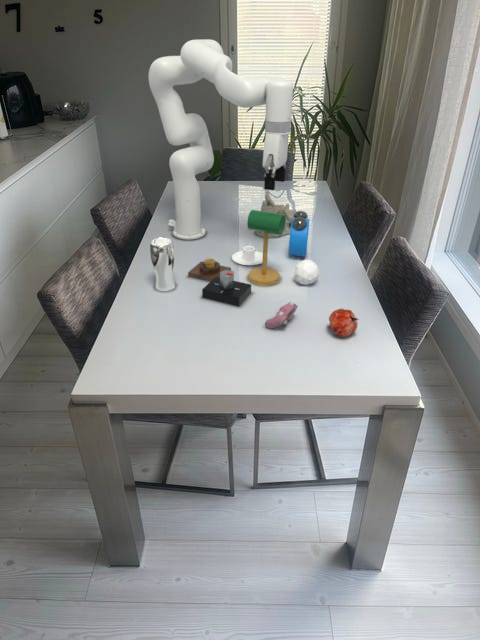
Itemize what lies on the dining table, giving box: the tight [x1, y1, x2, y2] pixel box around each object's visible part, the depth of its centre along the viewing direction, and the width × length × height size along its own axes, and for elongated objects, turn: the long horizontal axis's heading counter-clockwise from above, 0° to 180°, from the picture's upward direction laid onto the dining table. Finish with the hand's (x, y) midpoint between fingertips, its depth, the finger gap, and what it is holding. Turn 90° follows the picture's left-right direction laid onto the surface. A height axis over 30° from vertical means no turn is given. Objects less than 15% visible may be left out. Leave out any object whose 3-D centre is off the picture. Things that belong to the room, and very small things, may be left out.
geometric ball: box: [293, 259, 320, 286], centre depth 144 cm, size 8×8×8 cm
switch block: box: [187, 260, 232, 283], centre depth 149 cm, size 11×9×4 cm
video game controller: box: [264, 301, 299, 329], centre depth 125 cm, size 10×5×7 cm, turn 148°
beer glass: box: [149, 236, 176, 292], centre depth 139 cm, size 7×7×15 cm
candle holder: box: [231, 245, 263, 266], centre depth 158 cm, size 12×12×4 cm
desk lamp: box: [246, 209, 286, 287], centre depth 142 cm, size 10×10×22 cm
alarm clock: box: [288, 209, 310, 260], centre depth 159 cm, size 13×6×15 cm, turn 170°
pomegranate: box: [328, 308, 360, 338], centre depth 121 cm, size 7×7×10 cm
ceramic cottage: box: [255, 190, 297, 239], centre depth 179 cm, size 16×16×15 cm
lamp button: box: [203, 258, 216, 268], centre depth 148 cm, size 4×4×2 cm
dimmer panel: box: [201, 277, 252, 307], centre depth 137 cm, size 12×9×3 cm
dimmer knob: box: [220, 270, 235, 290], centre depth 135 cm, size 4×4×5 cm
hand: (274, 185), depth 144 cm, fingers open, 9 cm apart
